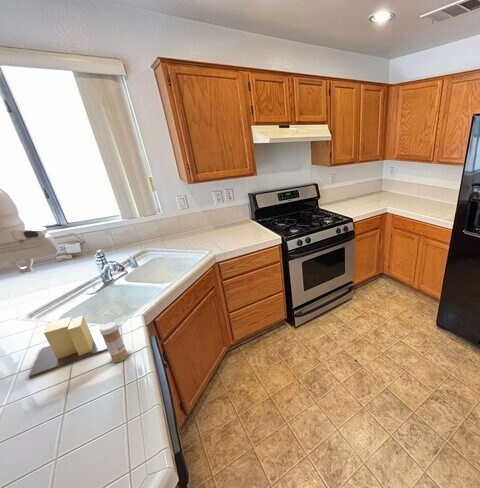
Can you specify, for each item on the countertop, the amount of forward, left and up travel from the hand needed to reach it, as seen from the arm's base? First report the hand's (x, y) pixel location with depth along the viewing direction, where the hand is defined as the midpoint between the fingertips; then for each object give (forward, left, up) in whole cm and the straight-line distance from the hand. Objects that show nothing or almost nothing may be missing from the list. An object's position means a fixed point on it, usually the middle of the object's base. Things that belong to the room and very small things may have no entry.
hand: (26, 272), depth 92 cm
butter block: (+5, -12, -28) cm, 31 cm away
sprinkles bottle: (+20, -28, -29) cm, 45 cm away
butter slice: (+10, -15, -28) cm, 33 cm away
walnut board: (+7, -12, -29) cm, 32 cm away
